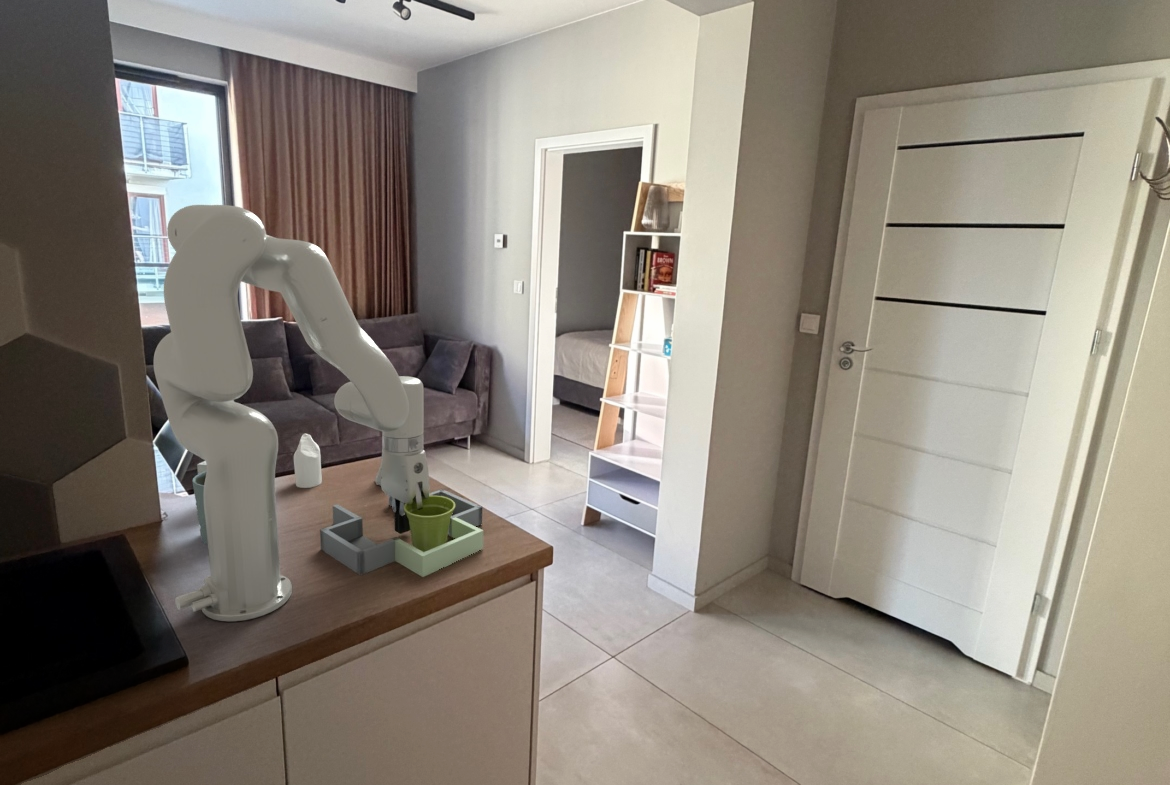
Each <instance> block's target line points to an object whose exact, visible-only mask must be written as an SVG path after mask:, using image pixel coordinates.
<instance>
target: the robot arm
mask: <svg viewBox="0 0 1170 785" xmlns="http://www.w3.org/2000/svg"><path fill="white" fill-rule="evenodd" d="M166 229H167V231H166V232H167V237H168V241H169V243H170V245H171V247H172V249H173V250H174V251H175V253H174V254H173V257H172V259H171V260H170V262H169V264H168V266H167V270H166V273H165V276H164V281H163V299H164V305H165V309H166V314H167V318H168V319H167V320H168V324H169V328H170V332H169V333H167V334H166V335H165V336H163V337H162V339H160V341H159V343H158V344H157V346H156V348H155V351H154V355H153V372H154V375H155V380H156V383H157V386H158V390H159V394H160V396H161V400H162V403H163V407H164V410H165V413H166V416H167V419H168V422H169V425H170V428H171V430H172V433H173V435H174V437H175V439H176V441H177V442H178V443H179V445H180V446H182V447H183V448H184V449H185V450H187V451H188V452H190V453H191V454H194V455H195V456H197V457H199V458H200V459H201V460H203V461H206V465H207V473H206V479H205V484H204V493H203V497H204V512H205V518H206V529H207V540H208V545H207V549H208V560H209V571H210V573H209V574H210V576H208V577H204V578H203V582H204V583H203V584H204V585H202V586H199V587H198V588H197V590H195V591H192V592H187V593H185V594H182V595H179V596H177V597H175V600H174V602H175V606H176V608H177V610H178V611H181V610H183V609H186V608H188V607H191V608H192V611H193V612H197V611H200V610H201V611H202V613H203V614H204V615H205V616H206V617H208V618H210V619H212V620H214V621H218V622H219V621H220V622H238V621H239V622H241V621H248V620H252V619H256V618H259V617H262V616H265V615H268V614H269V613H272V612H273V611H275V610H277V609H279V608H281V607H282V606H283V605H284V604H285V603H286V602H287V601H288V600H289V599H290V598H291V596H292V593H293V586H292V582H291V580H290V579H289V578H288V577H286V576H285V575H282V574H281V565H280V564H281V562H280V548H279V531H278V529H279V527H278V515H277V514H278V513H277V503H276V501H277V500H276V465H277V458H278V454H279V453H278V452H279V436H278V432H277V430H276V428H275V426H274V424H273V422H271V421H270V419H269V418H268V417H267V416H266V415H264V414H263V413H262V412H260V411H258V410H257V409H254V408H252V407H249V406H247V405H244V404H241V403H239V402H236V401H235V400H237V399H239V398H241V397H242V396H243V395H245V394H246V393H247V391H248V390H249V389H250V388H251V386H252V382H253V379H254V377H253V376H254V371H253V370H254V369H253V364H252V359H251V356H250V351H249V348H248V344H247V339H246V336H245V331H244V328H243V323H242V320H241V314H240V309H239V308H240V307H239V300H238V299H239V298H238V297H239V296H238V295H239V294H238V293H239V289H240V286H241V283H244V284H248V285H250V286H254V287H256V288H260V289H263V290H267V291H270V292H277V293H280V294H281V297H282V299H283V301H284V302H285V303H286V306H287V307H288V309H289V311H290V313H291V315H292V317H293V318H294V321H295V322H296V324H297V326H298V328H299V330H300V332H301V334H302V336H303V338H304V340H305V342H306V344H307V345H308V346H309V347H310V348H311V350H312V351H314V353H315V354H316V355H318V356H319V357H321V358H322V359H323V360H324V361H326V362H327V363H329V364H330V365H331V366H333V367H335V368H336V369H337V370H339V371H340V373H342V374H343V375H344V376H345V377H346V378H347V379H348V380H349V381H348V382H346V383H344V384H342V385H341V386H340V387H339V388H338V390H337V391H336V392H335V396H334V398H333V399H334V400H333V402H334V407H335V409H336V411H337V413H338V414H339V415H340V416H342V418H344V419H346V420H348V421H351V422H354V423H357V424H359V425H362V426H365V427H369V428H371V429H373V430H376V431H379V432H381V434H382V436H381V437H382V441H381V443H382V451H381V460H380V466H381V486H380V487H381V490H382V492H384V493H385V495H386V496H387V497H388V499H389V498H390V499H391V501H392V507H391V508H392V512H394V516H393V517H394V518H393V519H394V521H393V523H394V524H393V525H394V526H393V527H394V532H396V533H398V534H400V535H401V534H404V533H406V532H411V531H410V525H409V519H408V517H407V514H406V512H405V511H404V505H405V503H407V504H412V502H413V504H412V510H414V511H418V510H421V509H423V504H422V498H421V497H423V498H424V499H428V498H429V493H430V475H429V474H430V473H429V464H428V459H427V455H426V451H425V450H424V449H425V447H424V443H425V442H424V441H425V440H424V439H425V438H424V437H425V436H424V432H425V431H424V424H425V423H424V421H425V420H424V419H425V418H424V417H425V416H424V414H425V412H424V411H425V410H424V405H425V404H424V399H425V398H424V393H425V392H424V384H423V382H422V381H421V379H419V378H417V377H413V376H408V375H403V376H399V374H398V372H397V370H396V368H395V367H394V365H393V364H392V362H391V360H390V359H389V358H388V357H387V355H386V354H385V353H384V352H383V350H382V349H381V348H380V347H379V346H378V345H377V344H376V343H375V341H374V340H373V338H371V336H369V335H368V333H367V332H366V331H365V330H364V329H363V328H362V327H361V325H360V324H359V322H358V321H357V319H356V317H355V315H354V312H353V310H352V308H351V306H350V303H349V301H348V299H347V296H346V295H345V293H344V291H343V288H342V286H341V284H340V282H339V279H338V277H337V275H336V273H335V271H334V268H333V266H332V264H331V263H330V260H329V258H328V257H327V255H326V253H325V252H324V251H323V250H322V249H321V248H320V247H319V246H317V245H316V244H314V243H311V242H309V241H303V240H298V239H290V238H289V239H288V238H287V239H286V238H278V237H274V236H271V235H268V234H267V231H266V229H265V226H264V224H263V221H262V220H261V219H260V218H259V217H258V216H257V215H256V214H254V212H252V211H250V210H248V209H246V208H243V207H240V206H235V205H230V204H229V205H228V204H227V205H226V204H192V205H188V206H184V207H183V208H180V209H178V210H177V211H176V212H174V214H172V215H171V217H170V219H169V221H168V223H167V228H166Z"/></svg>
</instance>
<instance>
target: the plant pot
mask: <svg viewBox="0 0 1170 785" xmlns="http://www.w3.org/2000/svg"><path fill="white" fill-rule="evenodd" d="M421 498H422V504H423V509H421V510H418V511H414V510H412V504H413V502H412V504H407V503H405V505H404V511H405V512H406V514H407V517H408V519H409V525H410V531H409V532H410V537H411V544H412V546H413V547H415V548H417V549H419V550H421V551H422V552H426V551H428V550H431V549H433V548H435V547H438V546H440V545H442V544H445V543H447V542H448V529H449V523H450V517H451V516H452V512H453V510H454V509H455V502H454V501H453V500H451V499H449V498H447V497H443V496H433V495H431V496H429V498H428V499H424V498H423V497H421Z"/></svg>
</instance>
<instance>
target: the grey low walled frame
mask: <svg viewBox="0 0 1170 785" xmlns="http://www.w3.org/2000/svg"><path fill="white" fill-rule="evenodd" d="M431 495H433V496H443V497H447V498H449V499H451V500H453V501H454V502H455V509H454V510H453V512H452V513H453V514H452V516H451V517H450V523H449V529H448V535H449V536H448V535H447V536H448V537H450V536H451V538H452V537H453V540H449V541H447V542H446V543H445V544H442V545H440V546H438V547H435V548H433V549H431V550H428V551H426V552H422V551H421V550H419V549H417V548H415V547H413V545H411V544H410V543H408V542H406V541H405V540H402V539H401V538H399V537H397V536H396V537H393V538H391V539H388V540H385V541H383V542H380V543H376V542H375V541H373V540H371V539H369V538H368V537H366V536H365V535H364V534H363V533H364V530H363V528H364V525H363V518H362V516H359V515H357V514H356V513H355V512H354V513H353V512H352V511H350V510H348V509H347V508H345V507H343V506H341V505H340V504H337V503H336V504H333V505H332V525H331V526H330V525H329V526H327V527H325V528H321V529H320V530H319V534H320V536H319V537H320V550H321V551H322V552H324V553H326V554H327V555H329V556H330V557H331V558H333V559H335V560H336V561H338V562H340V563H341V564H342V565H344V566H346V567H347V568H348V569H350V570H352V571H353V572H355V573H356V574H358V575H359V576H363V575H365V574H367V573H369V572H372V571H375V570H377V569H379V568H382V567H383V566H386V565H388V564H391V563H394V562H396V563H398V564H400V565H402V566H403V567H405V568H407V569H408V570H410V571H412V572H413V573H415V574H417V575H419V576H420V577H422V578H425V577H427V576H428V575H431V574H433V573H435V572H437V571H439V569H440V570H441V568H442V569H444V568H446V567H448V566H450V565H452V563H453V564H454V562H455V563H457V562H459V561H461V560H463V559H462V558H464V557H466V556H468V555H470V556H472V555H474V554H476V553H475V552H477V551H479V550H481V549H483V550H484V529H481V528H480V527H479V526H478V525H480V526H482V525H483V506H481V505H479V504H478V503H474V502H473V501H470V500H468V499H466V498H463V497H461V496H459V495H456V494H455V493H452V492H450V491H447V490H445V489H442V488H441V489H438V490H435V491H433V492H429V496H431ZM389 505H390V506H389ZM388 506H389V507H391V506H392V501H391V499H390V498H389V497H388ZM481 524H482V525H481ZM476 526H478V527H476ZM454 538H455V539H454ZM481 551H482V550H481ZM479 552H480V551H479ZM473 553H474V554H473ZM477 553H478V552H477ZM471 554H472V555H471ZM468 557H469V556H468ZM466 558H467V557H466ZM460 559H461V560H460ZM464 559H465V558H464ZM458 560H459V561H458ZM456 561H457V562H456ZM443 567H444V568H443Z"/></svg>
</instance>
